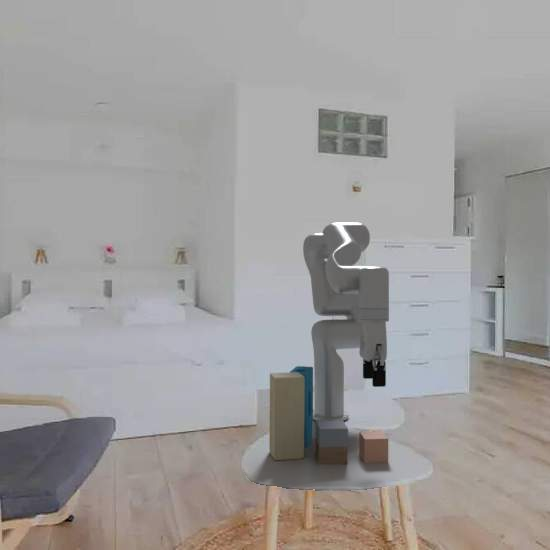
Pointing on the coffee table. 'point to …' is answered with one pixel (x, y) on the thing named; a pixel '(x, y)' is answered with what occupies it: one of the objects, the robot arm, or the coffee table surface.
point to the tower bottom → (331, 455)
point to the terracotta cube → (373, 446)
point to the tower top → (332, 433)
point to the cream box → (287, 415)
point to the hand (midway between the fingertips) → (373, 382)
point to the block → (307, 401)
